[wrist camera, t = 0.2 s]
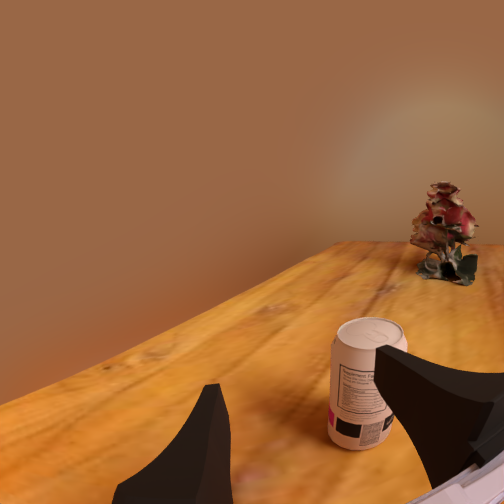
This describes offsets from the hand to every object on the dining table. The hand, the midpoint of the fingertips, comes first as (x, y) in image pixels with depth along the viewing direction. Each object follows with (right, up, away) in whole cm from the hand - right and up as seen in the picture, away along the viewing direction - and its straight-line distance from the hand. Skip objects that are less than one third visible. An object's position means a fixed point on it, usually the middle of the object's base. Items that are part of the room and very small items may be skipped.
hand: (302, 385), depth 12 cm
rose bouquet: (+63, -1, +71) cm, 95 cm away
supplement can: (+11, -17, +18) cm, 27 cm away
